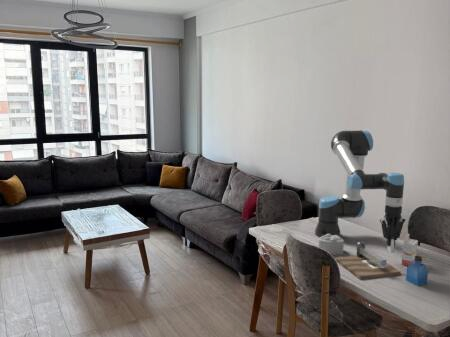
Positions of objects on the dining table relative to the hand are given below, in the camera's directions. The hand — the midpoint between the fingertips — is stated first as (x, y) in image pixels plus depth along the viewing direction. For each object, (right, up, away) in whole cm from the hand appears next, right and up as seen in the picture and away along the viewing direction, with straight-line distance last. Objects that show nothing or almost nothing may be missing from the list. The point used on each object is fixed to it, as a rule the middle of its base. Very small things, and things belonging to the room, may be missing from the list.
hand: (390, 251), depth 201 cm
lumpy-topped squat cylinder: (-23, -5, +24) cm, 34 cm away
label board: (-11, -8, +3) cm, 14 cm away
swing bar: (-8, -6, +5) cm, 11 cm away
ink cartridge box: (+13, -8, +8) cm, 17 cm away
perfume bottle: (+7, -11, -13) cm, 18 cm away
